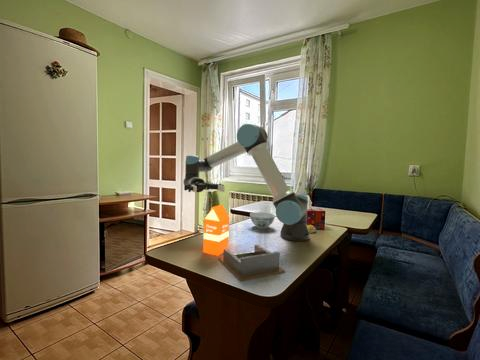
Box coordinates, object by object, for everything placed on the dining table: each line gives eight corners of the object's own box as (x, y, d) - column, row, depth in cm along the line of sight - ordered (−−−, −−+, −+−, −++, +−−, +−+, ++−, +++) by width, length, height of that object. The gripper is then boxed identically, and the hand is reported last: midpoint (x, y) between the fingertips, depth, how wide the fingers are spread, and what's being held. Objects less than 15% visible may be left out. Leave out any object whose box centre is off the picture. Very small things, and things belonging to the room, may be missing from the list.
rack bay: (218, 259, 101) (218, 242, 100) (256, 253, 109) (257, 237, 108) (240, 281, 83) (241, 261, 82) (284, 272, 91) (285, 254, 91)
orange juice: (202, 252, 108) (204, 206, 106) (213, 246, 116) (214, 203, 114) (218, 255, 104) (220, 208, 103) (228, 249, 112) (230, 205, 111)
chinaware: (278, 226, 155) (278, 214, 154) (268, 232, 142) (268, 218, 141) (256, 223, 163) (256, 211, 162) (245, 227, 150) (245, 215, 149)
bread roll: (301, 228, 154) (302, 222, 154) (316, 231, 149) (317, 224, 149) (297, 231, 147) (297, 224, 147) (312, 234, 143) (312, 227, 142)
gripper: (218, 191, 141) (234, 196, 122) (173, 191, 130) (183, 198, 111) (218, 177, 141) (234, 181, 122) (173, 177, 130) (183, 181, 111)
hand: (210, 189), depth 117 cm, fingers open, 13 cm apart
